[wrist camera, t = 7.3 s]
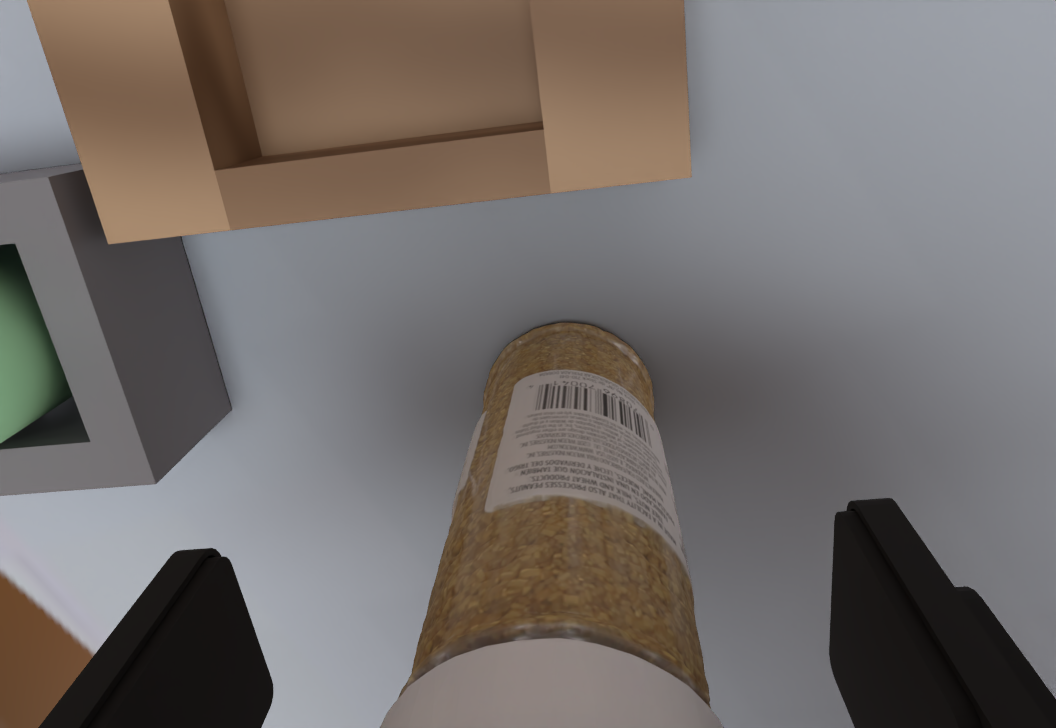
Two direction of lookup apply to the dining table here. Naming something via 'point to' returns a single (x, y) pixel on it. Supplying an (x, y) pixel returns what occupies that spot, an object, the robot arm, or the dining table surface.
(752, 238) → the dining table surface
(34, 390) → the button
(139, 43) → the wooden compartment tray
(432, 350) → the dining table surface
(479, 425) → the sprinkles bottle
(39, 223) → the gray square box
